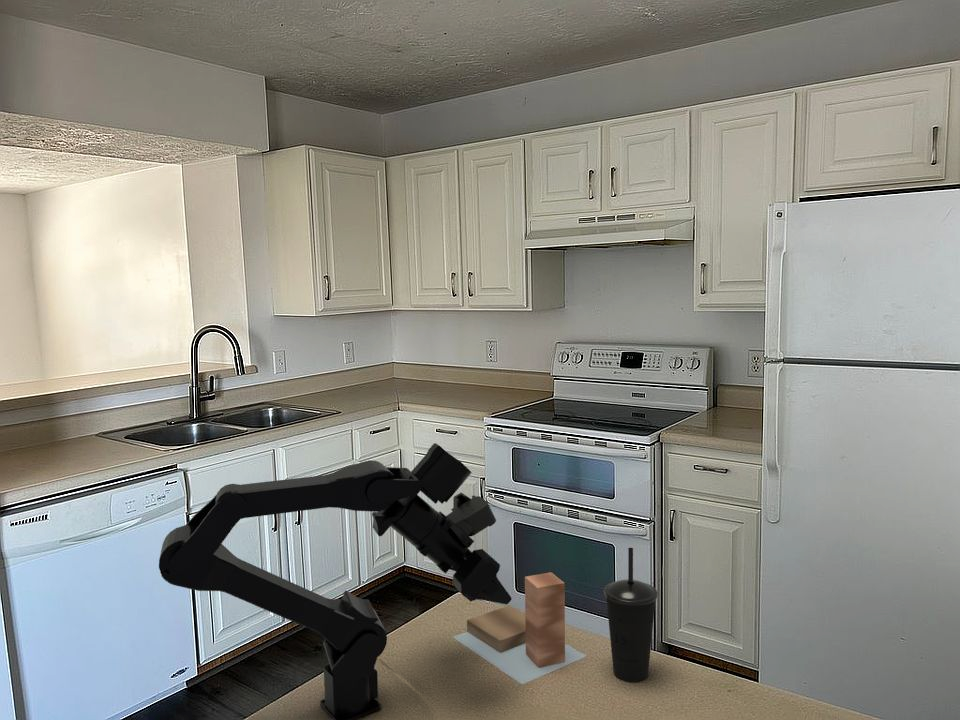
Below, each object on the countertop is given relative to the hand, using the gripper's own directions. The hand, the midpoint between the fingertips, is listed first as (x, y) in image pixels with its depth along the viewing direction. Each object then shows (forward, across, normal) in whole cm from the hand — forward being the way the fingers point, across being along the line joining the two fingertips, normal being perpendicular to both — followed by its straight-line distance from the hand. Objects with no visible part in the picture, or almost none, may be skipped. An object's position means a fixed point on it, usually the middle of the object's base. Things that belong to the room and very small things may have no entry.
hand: (497, 588), depth 107 cm
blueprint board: (+13, +5, +6) cm, 15 cm away
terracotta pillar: (+14, 0, +3) cm, 15 cm away
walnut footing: (+12, +10, +5) cm, 16 cm away
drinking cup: (+22, -9, -3) cm, 24 cm away
